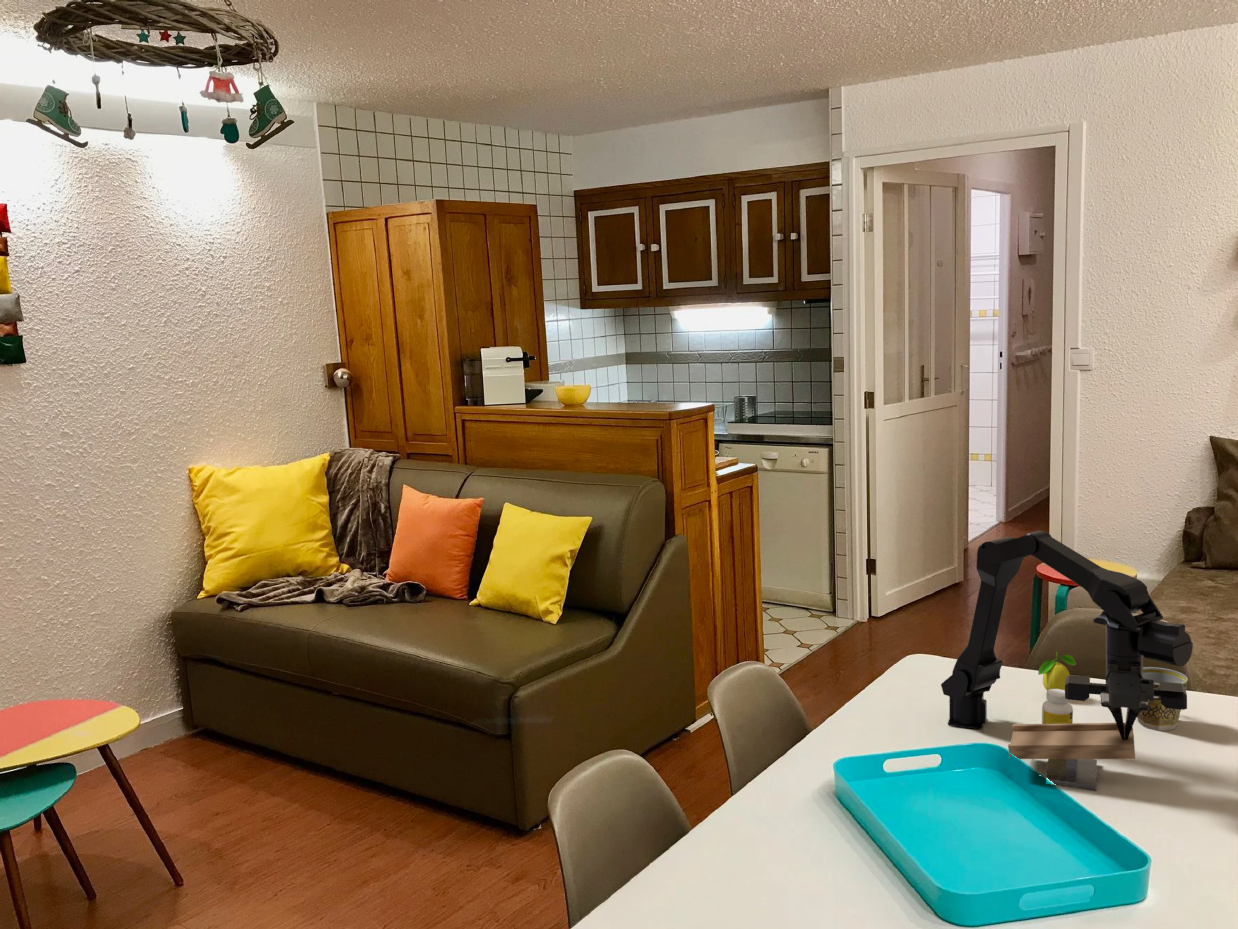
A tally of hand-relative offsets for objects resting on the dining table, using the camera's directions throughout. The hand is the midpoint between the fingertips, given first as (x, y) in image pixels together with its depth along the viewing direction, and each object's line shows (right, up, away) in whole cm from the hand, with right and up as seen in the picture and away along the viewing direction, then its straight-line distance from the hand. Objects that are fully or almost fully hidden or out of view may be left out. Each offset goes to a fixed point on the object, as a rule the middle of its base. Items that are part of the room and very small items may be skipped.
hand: (1124, 739), depth 178 cm
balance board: (-7, -3, +4) cm, 9 cm away
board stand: (-7, -8, +5) cm, 11 cm away
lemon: (+5, -2, +40) cm, 41 cm away
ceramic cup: (+18, -4, +25) cm, 32 cm away
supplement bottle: (-4, -6, +18) cm, 20 cm away
